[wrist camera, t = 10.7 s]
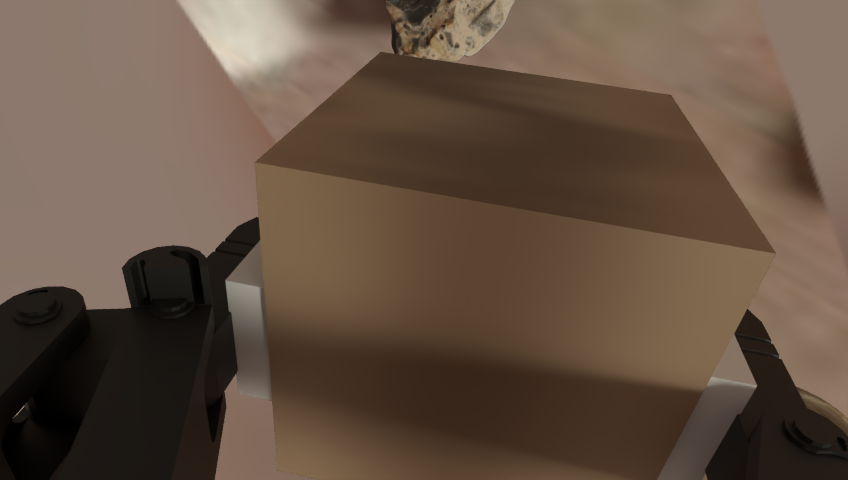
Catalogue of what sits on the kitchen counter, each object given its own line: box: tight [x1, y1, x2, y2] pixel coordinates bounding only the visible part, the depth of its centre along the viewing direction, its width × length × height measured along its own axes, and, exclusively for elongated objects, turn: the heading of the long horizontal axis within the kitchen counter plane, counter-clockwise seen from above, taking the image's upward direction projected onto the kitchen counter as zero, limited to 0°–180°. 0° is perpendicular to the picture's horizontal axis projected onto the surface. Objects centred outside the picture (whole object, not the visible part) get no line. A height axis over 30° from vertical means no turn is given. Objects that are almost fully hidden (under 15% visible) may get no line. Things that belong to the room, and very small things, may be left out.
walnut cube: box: [255, 52, 776, 480], centre depth 12 cm, size 7×7×7 cm
